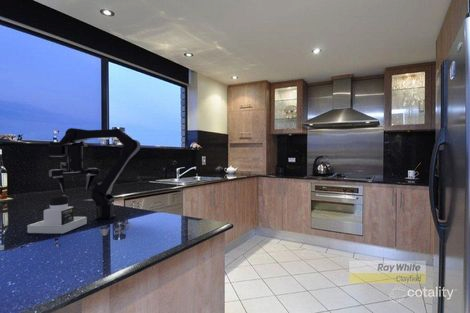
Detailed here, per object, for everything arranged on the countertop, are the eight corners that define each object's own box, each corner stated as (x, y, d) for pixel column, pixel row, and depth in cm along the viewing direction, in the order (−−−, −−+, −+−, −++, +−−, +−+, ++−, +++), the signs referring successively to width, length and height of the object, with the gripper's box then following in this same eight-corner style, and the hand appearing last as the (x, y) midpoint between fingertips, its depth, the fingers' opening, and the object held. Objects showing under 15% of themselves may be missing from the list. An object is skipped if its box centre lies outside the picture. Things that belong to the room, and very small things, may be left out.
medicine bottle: (61, 228, 98) (61, 197, 97) (43, 228, 98) (43, 197, 98) (74, 223, 105) (73, 194, 105) (56, 223, 105) (56, 194, 105)
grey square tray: (86, 223, 107) (86, 216, 107) (63, 233, 94) (63, 225, 94) (55, 223, 108) (55, 216, 108) (27, 232, 95) (27, 225, 95)
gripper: (92, 156, 128) (92, 187, 128) (46, 156, 115) (46, 192, 115) (99, 156, 120) (100, 189, 120) (51, 156, 107) (52, 194, 107)
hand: (75, 191), depth 116 cm, fingers open, 9 cm apart
